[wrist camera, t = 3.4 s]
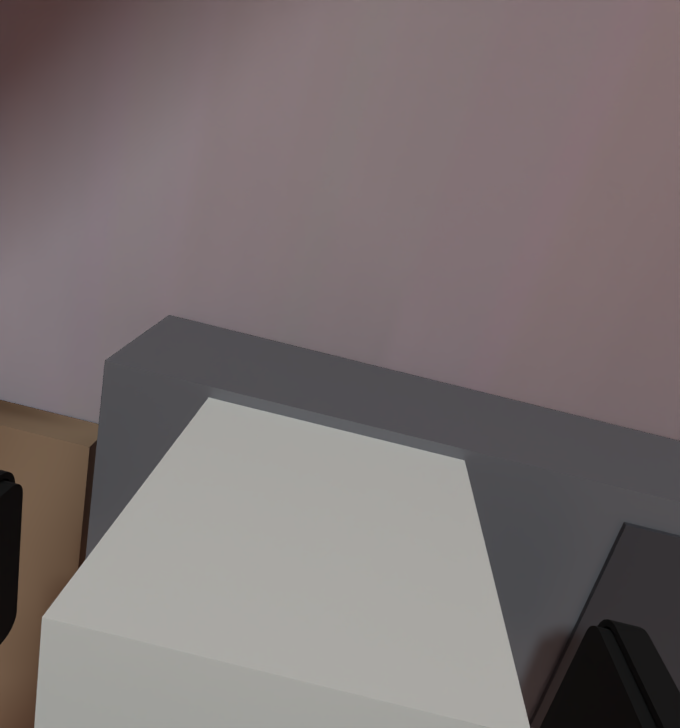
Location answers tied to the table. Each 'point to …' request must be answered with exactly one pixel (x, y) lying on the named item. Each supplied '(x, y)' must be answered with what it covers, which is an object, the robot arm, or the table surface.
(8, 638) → the pad
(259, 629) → the block
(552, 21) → the table surface
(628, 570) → the power strip
